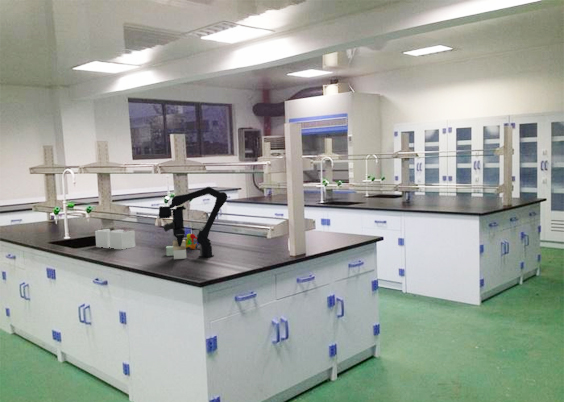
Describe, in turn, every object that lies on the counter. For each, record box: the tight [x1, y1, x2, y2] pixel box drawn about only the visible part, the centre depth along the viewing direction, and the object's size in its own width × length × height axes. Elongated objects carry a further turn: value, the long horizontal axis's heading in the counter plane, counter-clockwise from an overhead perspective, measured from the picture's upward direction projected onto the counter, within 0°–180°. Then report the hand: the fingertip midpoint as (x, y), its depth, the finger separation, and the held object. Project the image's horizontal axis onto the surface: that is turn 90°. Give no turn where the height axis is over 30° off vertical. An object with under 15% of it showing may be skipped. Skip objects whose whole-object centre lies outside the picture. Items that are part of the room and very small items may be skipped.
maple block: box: [172, 239, 187, 251], centre depth 281 cm, size 7×4×5 cm, turn 103°
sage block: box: [165, 245, 174, 257], centre depth 292 cm, size 7×4×5 cm, turn 103°
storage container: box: [94, 228, 136, 250], centre depth 326 cm, size 25×11×11 cm, turn 59°
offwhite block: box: [173, 249, 187, 260], centre depth 281 cm, size 7×4×5 cm, turn 103°
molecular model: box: [185, 233, 199, 250], centre depth 313 cm, size 11×10×15 cm
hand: (179, 245), depth 281 cm, fingers open, 9 cm apart
